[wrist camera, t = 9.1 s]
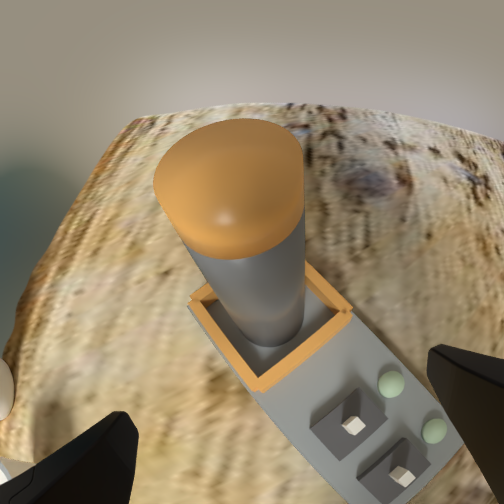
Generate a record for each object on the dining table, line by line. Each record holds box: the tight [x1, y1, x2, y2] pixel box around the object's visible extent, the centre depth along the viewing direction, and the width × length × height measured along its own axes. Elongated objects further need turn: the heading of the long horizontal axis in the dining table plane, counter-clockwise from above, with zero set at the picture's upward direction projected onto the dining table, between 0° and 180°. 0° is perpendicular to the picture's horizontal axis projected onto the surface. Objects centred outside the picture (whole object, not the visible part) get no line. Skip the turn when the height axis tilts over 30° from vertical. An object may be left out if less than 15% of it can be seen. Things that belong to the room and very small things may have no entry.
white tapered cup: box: [0, 457, 36, 485], centre depth 12 cm, size 7×7×7 cm
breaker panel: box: [187, 260, 464, 504], centre depth 17 cm, size 22×9×4 cm, turn 37°
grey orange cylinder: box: [153, 119, 305, 347], centre depth 15 cm, size 5×5×14 cm
